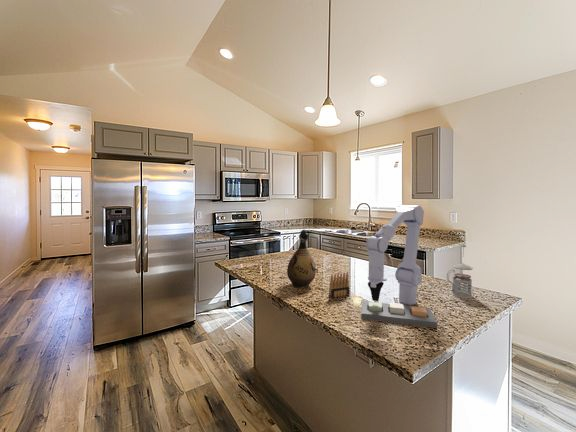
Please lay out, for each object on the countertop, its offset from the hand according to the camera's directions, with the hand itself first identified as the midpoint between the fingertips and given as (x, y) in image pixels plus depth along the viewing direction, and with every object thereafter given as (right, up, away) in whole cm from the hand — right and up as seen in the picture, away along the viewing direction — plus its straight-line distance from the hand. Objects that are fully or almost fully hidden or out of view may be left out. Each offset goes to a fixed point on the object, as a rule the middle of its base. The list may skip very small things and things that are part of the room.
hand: (375, 300), depth 112 cm
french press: (+50, -5, +26) cm, 56 cm away
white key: (+8, -5, -2) cm, 10 cm away
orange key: (+15, -6, -4) cm, 17 cm away
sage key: (0, -6, 0) cm, 6 cm away
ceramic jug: (-28, -4, +40) cm, 49 cm away
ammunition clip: (-11, -5, +20) cm, 24 cm away
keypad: (+8, -6, -2) cm, 10 cm away
